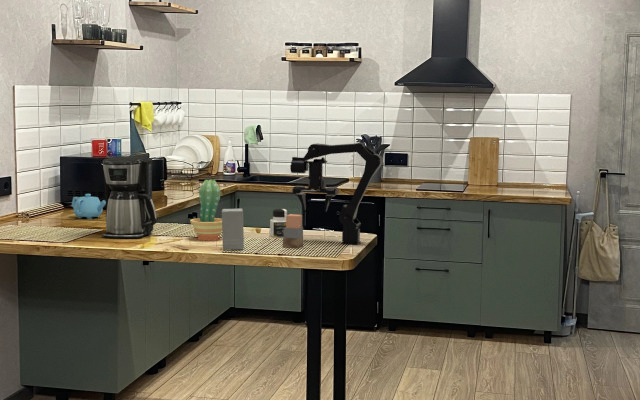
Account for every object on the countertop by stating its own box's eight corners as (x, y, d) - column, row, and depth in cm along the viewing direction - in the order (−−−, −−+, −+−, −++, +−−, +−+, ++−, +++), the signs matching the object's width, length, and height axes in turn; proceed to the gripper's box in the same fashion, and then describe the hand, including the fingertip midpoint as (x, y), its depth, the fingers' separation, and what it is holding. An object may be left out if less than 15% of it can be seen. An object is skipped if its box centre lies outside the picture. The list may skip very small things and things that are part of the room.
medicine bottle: (273, 238, 372) (273, 210, 371) (269, 235, 379) (270, 208, 378) (289, 237, 374) (289, 209, 373) (285, 235, 381) (286, 208, 380)
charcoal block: (303, 236, 352) (303, 226, 351) (297, 238, 346) (298, 228, 346) (289, 235, 354) (289, 226, 353) (283, 237, 348) (283, 228, 348)
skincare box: (244, 247, 346) (244, 208, 344) (243, 250, 339) (243, 210, 337) (222, 247, 346) (222, 207, 344) (221, 250, 339) (221, 209, 337)
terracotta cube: (301, 227, 351) (302, 214, 350) (297, 228, 346) (298, 216, 346) (290, 226, 352) (290, 214, 352) (286, 227, 348) (286, 215, 347)
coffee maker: (102, 240, 358) (101, 158, 355) (98, 229, 389) (97, 154, 386) (157, 238, 365) (157, 158, 362) (149, 228, 396) (149, 154, 392)
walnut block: (303, 246, 352) (303, 236, 352) (298, 248, 346) (298, 238, 346) (287, 245, 354) (287, 235, 354) (282, 247, 348) (282, 237, 348)
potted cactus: (234, 238, 369) (234, 179, 366) (209, 242, 356) (209, 182, 353) (206, 235, 377) (206, 177, 375) (181, 239, 365) (182, 179, 362)
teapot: (61, 218, 423) (61, 194, 421) (83, 214, 438) (82, 191, 437) (96, 221, 415) (95, 196, 414) (116, 217, 431) (116, 193, 429)
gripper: (342, 173, 367) (341, 209, 368) (300, 171, 372) (300, 208, 374) (335, 174, 356) (334, 212, 358) (292, 173, 361) (291, 210, 363)
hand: (315, 210), depth 363 cm, fingers open, 9 cm apart
